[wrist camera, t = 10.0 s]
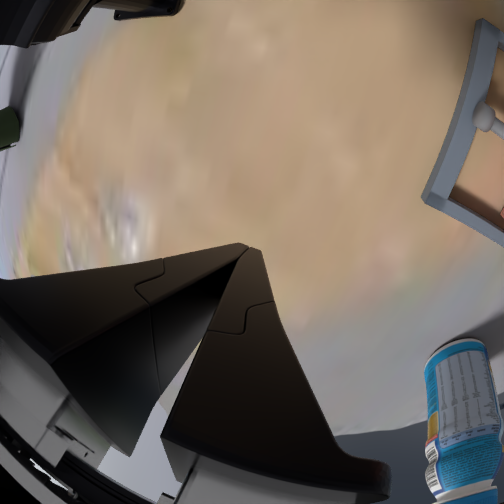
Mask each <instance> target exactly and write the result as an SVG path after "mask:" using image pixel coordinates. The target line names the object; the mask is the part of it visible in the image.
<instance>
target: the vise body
mask: <svg viewBox="0 0 504 504" xmlns="http://www.w3.org/2000/svg"><path fill="white" fill-rule="evenodd" d="M497 47H498V48H500V49H501V50H502V51H504V33H503V32H502V31H500V30H499V29H498V28H496V27H495V26H494V25H492V24H491V23H489V22H488V21H486V20H485V19H484V18H482V19H479V20H477V21H476V25H475V31H474V37H473V42H472V47H471V52H470V57H469V61H468V65H467V70H466V74H465V77H464V81H463V85H462V88H461V92H460V95H459V99H458V102H457V105H456V108H455V112H454V115H453V118H452V121H451V124H450V126H449V129H448V132H447V135H446V138H445V140H444V143H443V146H442V148H441V151H440V153H439V156H438V158H437V161H436V163H435V166H434V168H433V170H432V173H431V175H430V177H429V180H428V182H427V184H426V186H425V189H424V191H423V193H422V195H421V198H422V200H423V201H424V203H425V204H427V205H429V206H431V207H433V208H435V209H437V210H439V211H441V212H443V213H445V214H447V215H449V216H451V217H453V218H454V219H456V220H458V221H460V222H462V223H464V224H465V225H467V226H469V227H471V228H473V229H474V230H476V231H478V232H479V233H481V234H483V235H484V236H486V237H488V238H489V239H491V240H493V241H494V242H496V243H498V244H499V245H501V246H502V247H504V230H503V229H501V228H500V227H498V226H497V225H495V224H494V223H492V222H491V221H489V220H487V219H486V218H484V217H483V216H481V215H479V214H478V213H476V212H474V211H473V210H471V209H469V208H468V207H466V206H464V205H462V204H461V203H459V202H457V201H455V200H454V199H452V198H450V197H449V195H450V193H451V190H452V188H453V186H454V184H455V182H456V179H457V177H458V175H459V172H460V170H461V168H462V165H463V163H464V161H465V158H466V156H467V153H468V150H469V148H470V145H471V143H472V140H473V137H474V134H475V131H476V129H477V127H476V126H474V125H473V123H472V115H473V111H474V109H475V107H476V105H477V104H478V103H479V102H484V103H485V100H486V96H487V93H488V89H489V85H490V81H491V77H492V72H493V68H494V63H495V58H496V52H497Z"/></svg>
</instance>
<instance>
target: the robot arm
mask: <svg viewBox="0 0 504 504" xmlns="http://www.w3.org/2000/svg"><path fill="white" fill-rule="evenodd" d="M180 1H181V0H0V45H14V46H18V47H22V48H29V47H30V45H37V44H40V43H46V42H51V41H54V40H55V39H56V38H57V37H59V36H62V35H65V34H68V33H71V32H74V31H77V29H78V28H79V27H80V25H81V24H80V23H81V22H82V20H83V19H84V17H85V16H86V15H87V13H88V12H89V11H90V9H91V8H92V7H96V8H106V9H114V10H115V13H114V20H118V21H121V20H129V19H138V18H149V17H164V16H174V15H175V14H176V13H177V12H178V9H179V5H180ZM172 8H173V10H172V12H170V9H172ZM119 15H120V16H119ZM201 339H202V341H201ZM200 341H201V343H200V345H199V348H198V350H197V352H196V354H195V357H194V359H193V361H192V363H191V366H190V368H189V370H188V373H187V375H186V377H185V379H184V382H183V384H182V386H181V389H180V391H179V393H178V396H177V398H176V400H175V402H174V405H173V407H172V409H171V412H170V414H169V416H168V419H167V421H166V424H165V426H164V428H163V431H162V433H161V435H160V438H161V440H162V443H163V446H164V449H165V452H166V454H167V457H168V460H169V463H170V465H171V468H172V470H173V473H174V475H175V478H176V480H177V481H179V482H181V483H182V485H181V487H180V489H179V491H178V493H177V495H176V497H173V496H170V495H168V494H166V493H162V494H161V496H160V498H159V500H158V502H157V503H156V502H154V501H152V500H150V499H148V498H146V497H144V496H142V495H140V494H138V493H136V492H134V491H132V490H130V489H129V488H127V487H125V486H123V485H122V484H120V483H118V482H116V481H115V480H113V479H111V478H110V477H108V476H106V475H105V474H103V473H102V472H100V471H98V470H97V468H98V466H99V465H100V463H101V461H102V459H103V458H104V456H105V455H106V453H107V451H108V449H109V448H110V446H112V447H113V448H115V449H116V450H118V451H120V452H121V453H123V454H125V455H127V456H128V457H130V456H131V455H132V452H133V450H134V448H135V446H136V444H137V442H138V439H139V437H140V435H141V433H142V430H143V428H144V426H145V424H146V422H147V420H148V417H149V415H150V413H151V411H152V409H153V407H154V406H155V404H156V402H157V401H158V399H159V398H160V396H161V395H162V394H163V392H164V391H165V389H166V388H167V387H168V385H169V384H170V382H171V381H172V380H173V378H174V377H175V376H176V374H177V373H178V371H179V370H180V369H181V367H182V366H183V364H184V363H185V362H186V360H187V359H188V357H189V356H190V355H191V353H192V352H193V350H194V349H195V348H196V346H197V345H198V343H199V342H200ZM30 458H31V459H32V460H33V461H34V462H35V463H37V464H38V465H39V466H40V467H41V468H42V469H43V470H45V471H46V472H47V473H48V474H49V475H51V476H52V477H53V478H54V479H55V480H57V481H58V482H59V483H61V484H62V485H63V486H64V487H66V488H67V489H68V490H65V489H64V488H62V487H60V486H58V485H56V484H54V483H52V482H51V481H50V480H51V478H50V477H49V476H48V475H47V474H45V473H43V472H41V471H39V470H38V469H36V468H35V467H34V466H35V464H34V463H33V462H32V461H30ZM391 487H392V473H391V468H390V466H389V465H388V464H387V463H385V462H382V461H379V460H374V459H368V458H360V457H356V456H352V455H350V454H348V453H346V452H345V451H344V450H343V449H342V448H340V447H339V445H338V443H337V442H336V440H335V438H334V436H333V434H332V431H331V429H330V427H329V425H328V423H327V421H326V419H325V417H324V414H323V412H322V410H321V408H320V406H319V404H318V402H317V399H316V397H315V395H314V393H313V391H312V389H311V387H310V384H309V382H308V380H307V378H306V376H305V374H304V372H303V369H302V367H301V365H300V363H299V361H298V359H297V356H296V354H295V352H294V350H293V348H292V346H291V344H290V341H289V339H288V337H287V335H286V333H285V330H284V328H283V326H282V323H281V320H280V317H279V314H278V311H277V307H276V303H275V301H274V297H273V293H272V289H271V286H270V282H269V278H268V274H267V270H266V267H265V263H264V259H263V255H262V252H261V250H258V249H255V248H253V247H250V248H249V246H247V245H244V244H242V243H233V244H229V245H224V246H219V247H214V248H209V249H204V250H199V251H195V252H190V253H185V254H180V255H175V256H171V257H166V258H163V259H162V258H159V259H155V260H150V261H144V262H139V263H132V264H126V265H118V266H111V267H103V268H95V269H88V270H80V271H73V272H65V273H57V274H50V275H42V276H35V277H27V278H20V279H12V280H6V279H1V278H0V504H370V503H375V502H380V501H384V500H387V499H388V498H389V497H390V494H391ZM500 504H504V502H503V503H500Z"/></svg>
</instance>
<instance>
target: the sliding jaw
mask: <svg viewBox="0 0 504 504" xmlns="http://www.w3.org/2000/svg"><path fill="white" fill-rule="evenodd" d="M472 123H473V125H474V126H476V127H477V128H479V129H480V130H482V131H483V132H488V131H489V130H491V131H493V132H494V133H495V134H497V135H498V136H499V137H501V138H502V139H503V140H504V123H503V122H501V121H500V120H499V119H497V118H496V117H495V111H494V109H493V108H491V107H490V106H489V105H487V104H486V103H484V102H479V103H478V104H477V105H476V107H475V109H474V111H473V115H472ZM500 215H501V216H502V217H503V218H504V208H503V210H502V212H501V214H500Z"/></svg>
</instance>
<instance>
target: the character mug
mask: <svg viewBox="0 0 504 504" xmlns="http://www.w3.org/2000/svg"><path fill="white" fill-rule="evenodd" d="M19 132H20V131H19V121H18V119H17V117H16V114H15V112H14V111H13V109H12V108H11V107H10V106H8V107H6V108H4V109H2V110H0V151H3V150H5V149H8V148H11V147H14V146H16V145H14V146H10V145H11V144H12V143H14V142H17V141H18V140H19Z"/></svg>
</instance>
